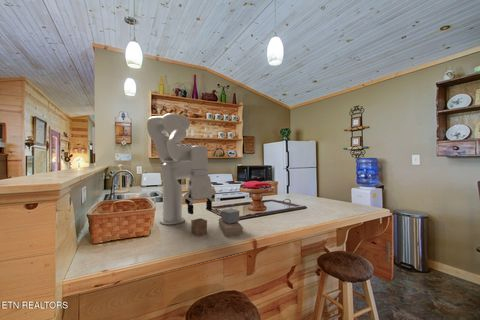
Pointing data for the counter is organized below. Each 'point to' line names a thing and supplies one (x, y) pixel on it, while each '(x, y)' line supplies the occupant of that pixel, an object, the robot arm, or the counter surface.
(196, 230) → the walnut block
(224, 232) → the brick
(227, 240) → the counter surface
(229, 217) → the slate block
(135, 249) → the counter surface
